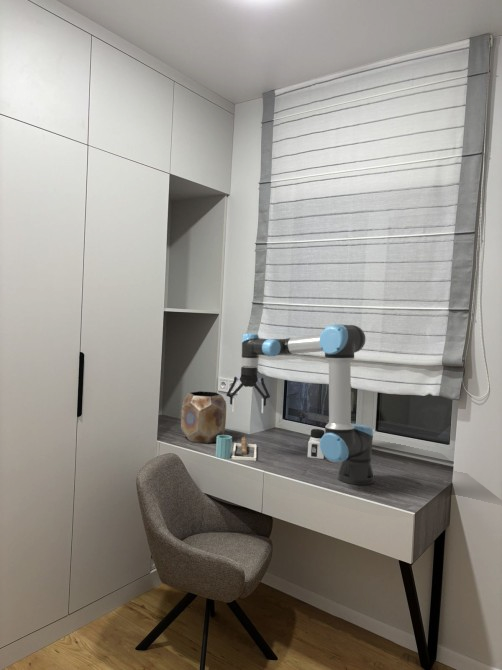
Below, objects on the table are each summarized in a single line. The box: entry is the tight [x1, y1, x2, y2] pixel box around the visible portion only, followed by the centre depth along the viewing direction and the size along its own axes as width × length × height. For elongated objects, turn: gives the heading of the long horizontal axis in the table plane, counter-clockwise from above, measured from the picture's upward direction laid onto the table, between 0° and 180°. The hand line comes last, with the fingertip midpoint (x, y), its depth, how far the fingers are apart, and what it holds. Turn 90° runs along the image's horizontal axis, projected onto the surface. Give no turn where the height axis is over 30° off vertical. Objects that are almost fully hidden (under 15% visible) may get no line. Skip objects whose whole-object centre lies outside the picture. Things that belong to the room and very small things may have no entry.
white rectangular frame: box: [231, 442, 257, 462], centre depth 244 cm, size 24×11×2 cm, turn 179°
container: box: [307, 428, 325, 460], centre depth 249 cm, size 8×8×13 cm
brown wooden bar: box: [240, 436, 248, 456], centre depth 250 cm, size 6×3×18 cm
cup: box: [215, 434, 233, 459], centre depth 236 cm, size 7×7×10 cm
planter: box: [180, 390, 227, 444], centre depth 269 cm, size 22×24×24 cm
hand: (247, 412), depth 241 cm, fingers open, 13 cm apart
